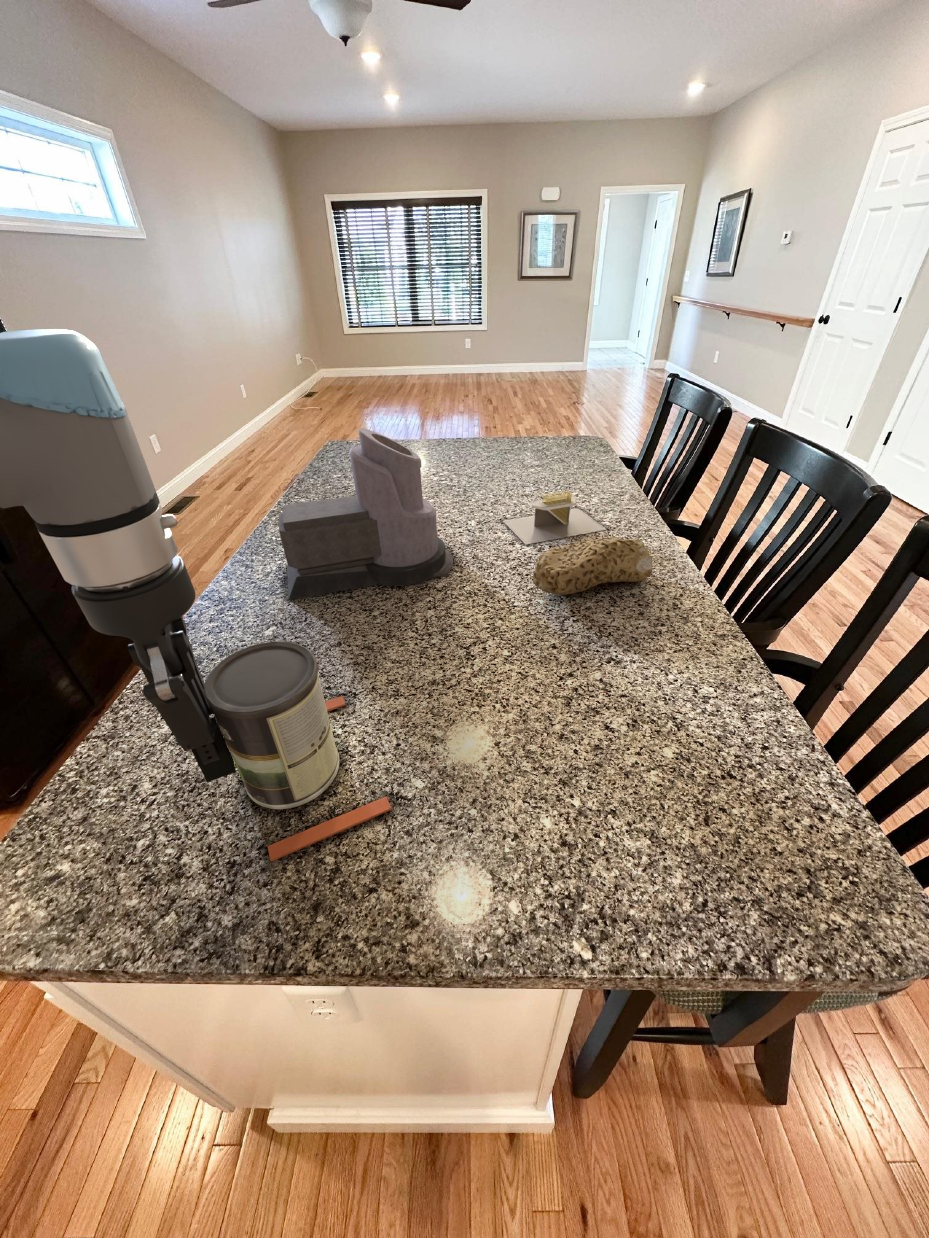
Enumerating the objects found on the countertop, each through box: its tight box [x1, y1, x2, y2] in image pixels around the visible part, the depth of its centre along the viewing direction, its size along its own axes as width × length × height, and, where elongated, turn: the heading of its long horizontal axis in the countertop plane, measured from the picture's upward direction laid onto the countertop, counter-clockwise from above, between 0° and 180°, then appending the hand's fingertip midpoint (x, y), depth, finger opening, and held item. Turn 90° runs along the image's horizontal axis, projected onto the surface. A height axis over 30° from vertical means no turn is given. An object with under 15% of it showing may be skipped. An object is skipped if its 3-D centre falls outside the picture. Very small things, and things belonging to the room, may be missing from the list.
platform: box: [502, 490, 607, 545], centre depth 105 cm, size 12×18×7 cm, turn 109°
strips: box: [267, 695, 393, 862], centre depth 57 cm, size 12×19×1 cm, turn 26°
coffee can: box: [204, 640, 340, 810], centre depth 53 cm, size 10×10×14 cm
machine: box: [278, 427, 454, 601], centre depth 87 cm, size 30×16×24 cm, turn 107°
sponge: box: [532, 537, 653, 596], centre depth 85 cm, size 13×8×20 cm
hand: (220, 771), depth 52 cm, fingers closed
